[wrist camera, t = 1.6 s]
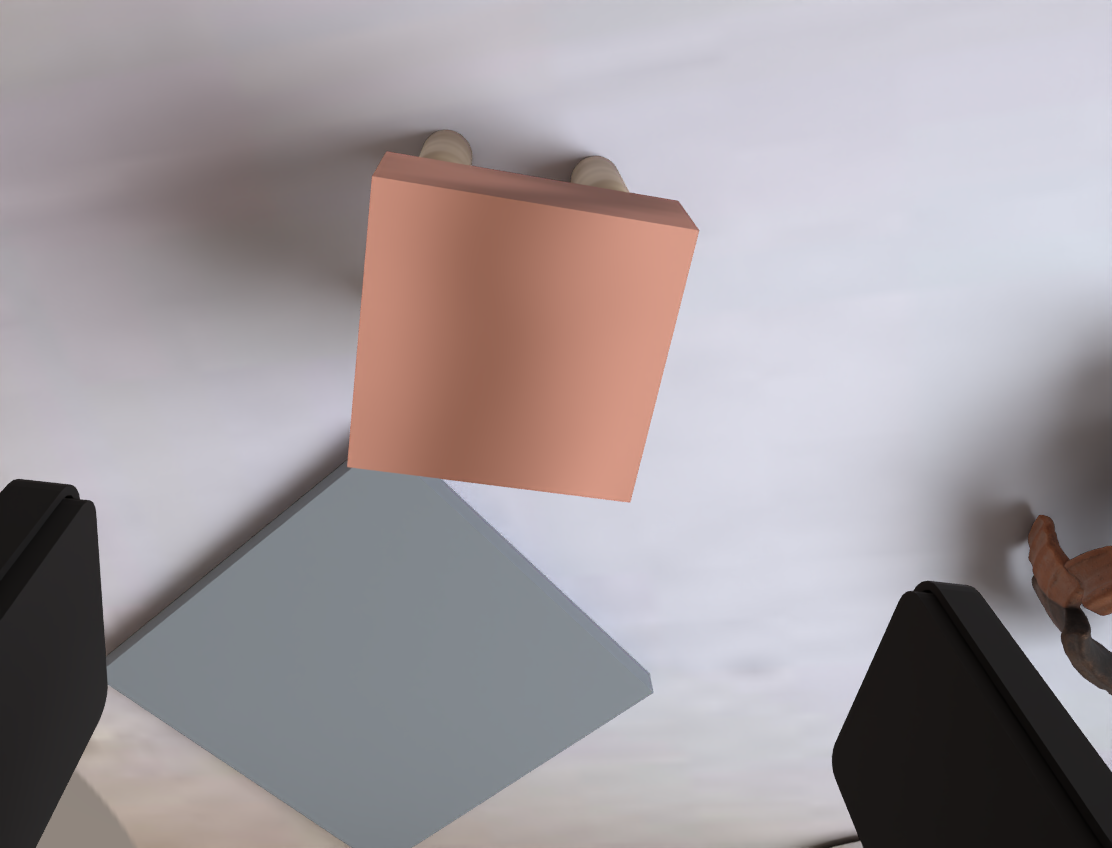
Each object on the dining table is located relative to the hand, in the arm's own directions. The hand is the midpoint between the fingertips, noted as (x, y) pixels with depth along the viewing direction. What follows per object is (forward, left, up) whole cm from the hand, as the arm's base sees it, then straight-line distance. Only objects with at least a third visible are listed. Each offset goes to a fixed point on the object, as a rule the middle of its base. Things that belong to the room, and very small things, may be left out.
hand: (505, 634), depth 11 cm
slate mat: (-9, +14, -18) cm, 24 cm away
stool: (0, 0, -18) cm, 18 cm away
